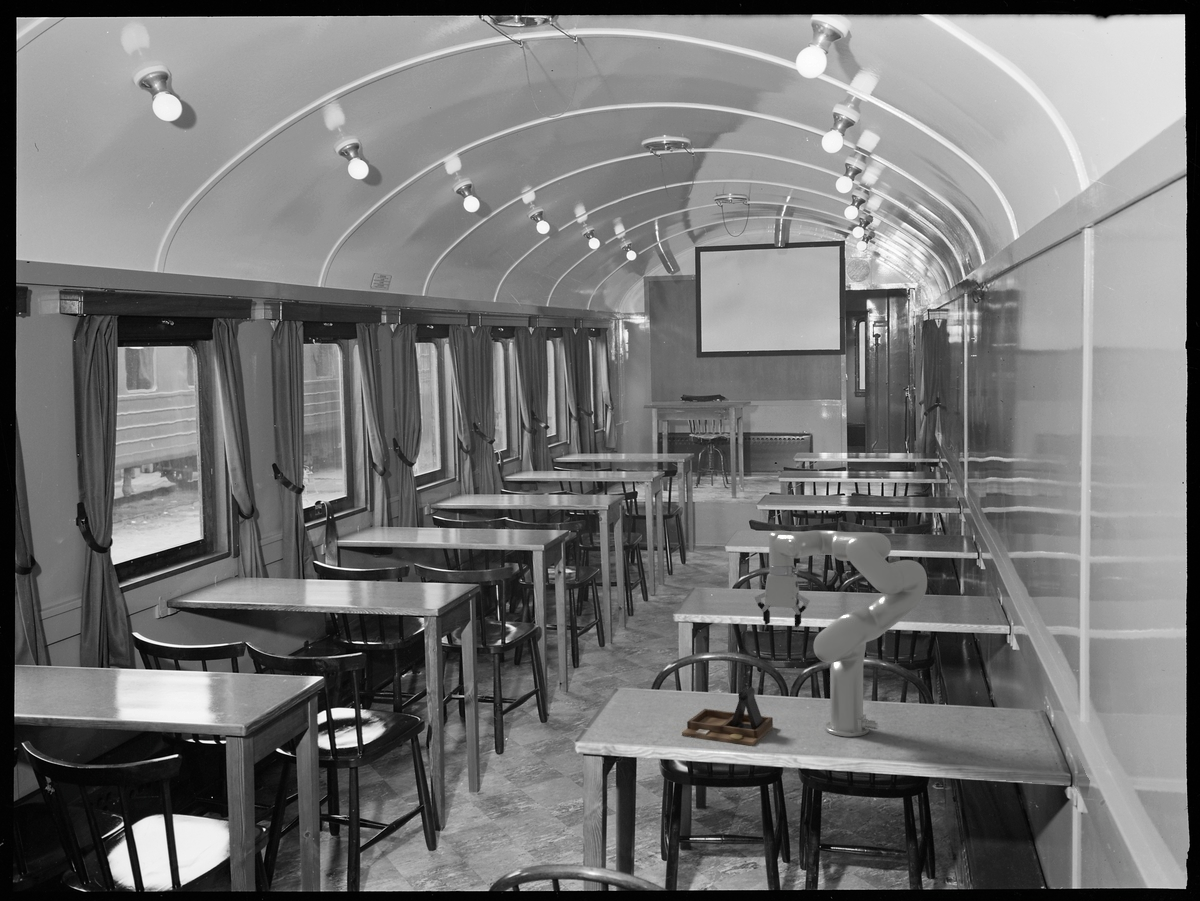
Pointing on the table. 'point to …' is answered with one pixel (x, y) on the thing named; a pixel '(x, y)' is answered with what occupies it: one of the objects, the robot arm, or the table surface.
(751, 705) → the phone stand
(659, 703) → the table surface
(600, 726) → the table surface
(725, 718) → the bay board
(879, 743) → the table surface
